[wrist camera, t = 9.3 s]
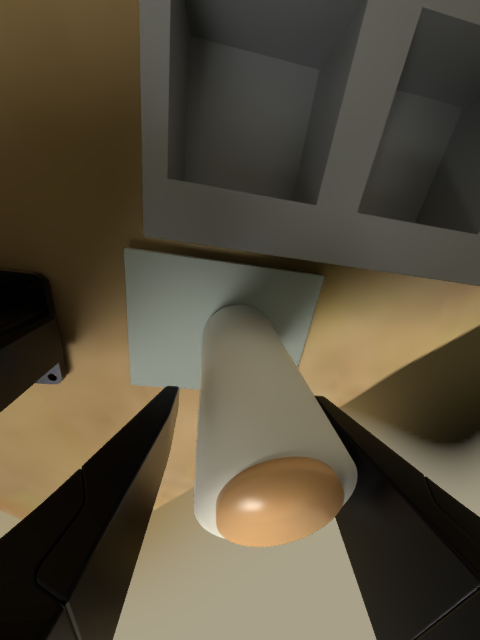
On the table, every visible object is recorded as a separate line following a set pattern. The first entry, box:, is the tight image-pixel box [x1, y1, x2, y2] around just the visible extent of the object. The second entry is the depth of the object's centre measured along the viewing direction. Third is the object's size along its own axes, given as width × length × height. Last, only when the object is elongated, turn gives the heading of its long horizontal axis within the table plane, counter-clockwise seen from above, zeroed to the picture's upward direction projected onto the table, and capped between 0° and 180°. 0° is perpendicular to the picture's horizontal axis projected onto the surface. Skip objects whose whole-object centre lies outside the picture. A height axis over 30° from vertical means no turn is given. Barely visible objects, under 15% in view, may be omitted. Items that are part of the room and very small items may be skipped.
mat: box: [124, 247, 325, 390], centre depth 13 cm, size 10×8×1 cm
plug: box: [194, 305, 357, 547], centre depth 9 cm, size 4×4×8 cm
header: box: [139, 0, 480, 286], centre depth 8 cm, size 18×8×4 cm, turn 82°
